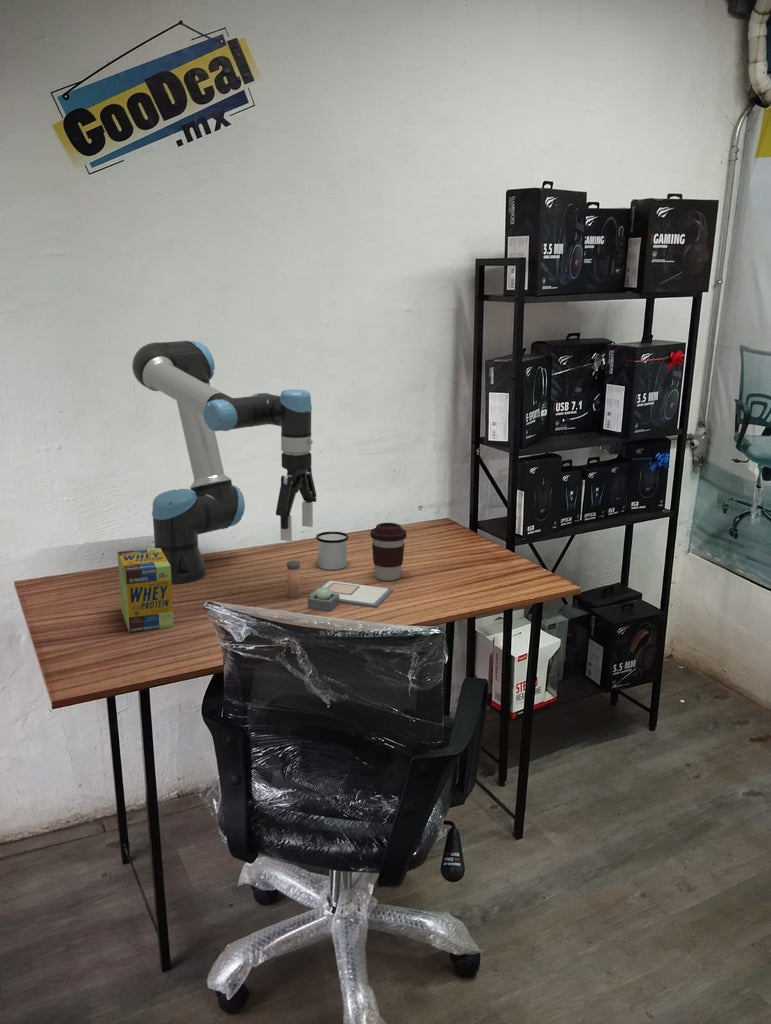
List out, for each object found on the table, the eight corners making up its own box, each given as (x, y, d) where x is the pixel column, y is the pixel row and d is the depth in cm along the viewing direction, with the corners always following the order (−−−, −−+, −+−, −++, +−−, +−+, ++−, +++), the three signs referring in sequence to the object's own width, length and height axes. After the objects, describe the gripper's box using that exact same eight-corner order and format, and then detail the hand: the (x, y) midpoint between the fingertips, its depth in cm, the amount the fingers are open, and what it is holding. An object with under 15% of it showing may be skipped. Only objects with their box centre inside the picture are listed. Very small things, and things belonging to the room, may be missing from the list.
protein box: (129, 633, 197) (124, 570, 193) (120, 610, 210) (116, 551, 206) (174, 627, 201) (171, 565, 197) (163, 604, 214) (160, 546, 210)
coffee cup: (401, 584, 231) (403, 531, 227) (366, 581, 233) (367, 529, 229) (408, 572, 241) (409, 522, 237) (374, 570, 243) (374, 519, 239)
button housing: (308, 608, 213) (308, 598, 213) (317, 600, 219) (317, 591, 218) (330, 611, 212) (330, 602, 211) (339, 603, 217) (339, 594, 216)
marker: (285, 597, 221) (284, 563, 218) (290, 593, 224) (290, 559, 221) (297, 599, 220) (296, 565, 217) (302, 594, 223) (302, 561, 220)
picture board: (307, 598, 220) (307, 594, 220) (327, 582, 232) (327, 578, 232) (376, 607, 214) (376, 604, 214) (393, 591, 226) (393, 587, 226)
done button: (314, 602, 214) (314, 591, 213) (320, 597, 217) (320, 586, 216) (327, 604, 213) (327, 593, 212) (333, 599, 216) (333, 588, 215)
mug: (352, 569, 243) (352, 539, 240) (320, 572, 240) (320, 542, 237) (340, 556, 254) (340, 527, 251) (310, 559, 251) (310, 530, 248)
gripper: (289, 463, 200) (290, 548, 206) (328, 444, 223) (328, 522, 228) (260, 460, 202) (262, 545, 208) (302, 442, 225) (302, 519, 231)
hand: (297, 533), depth 218 cm, fingers open, 13 cm apart
